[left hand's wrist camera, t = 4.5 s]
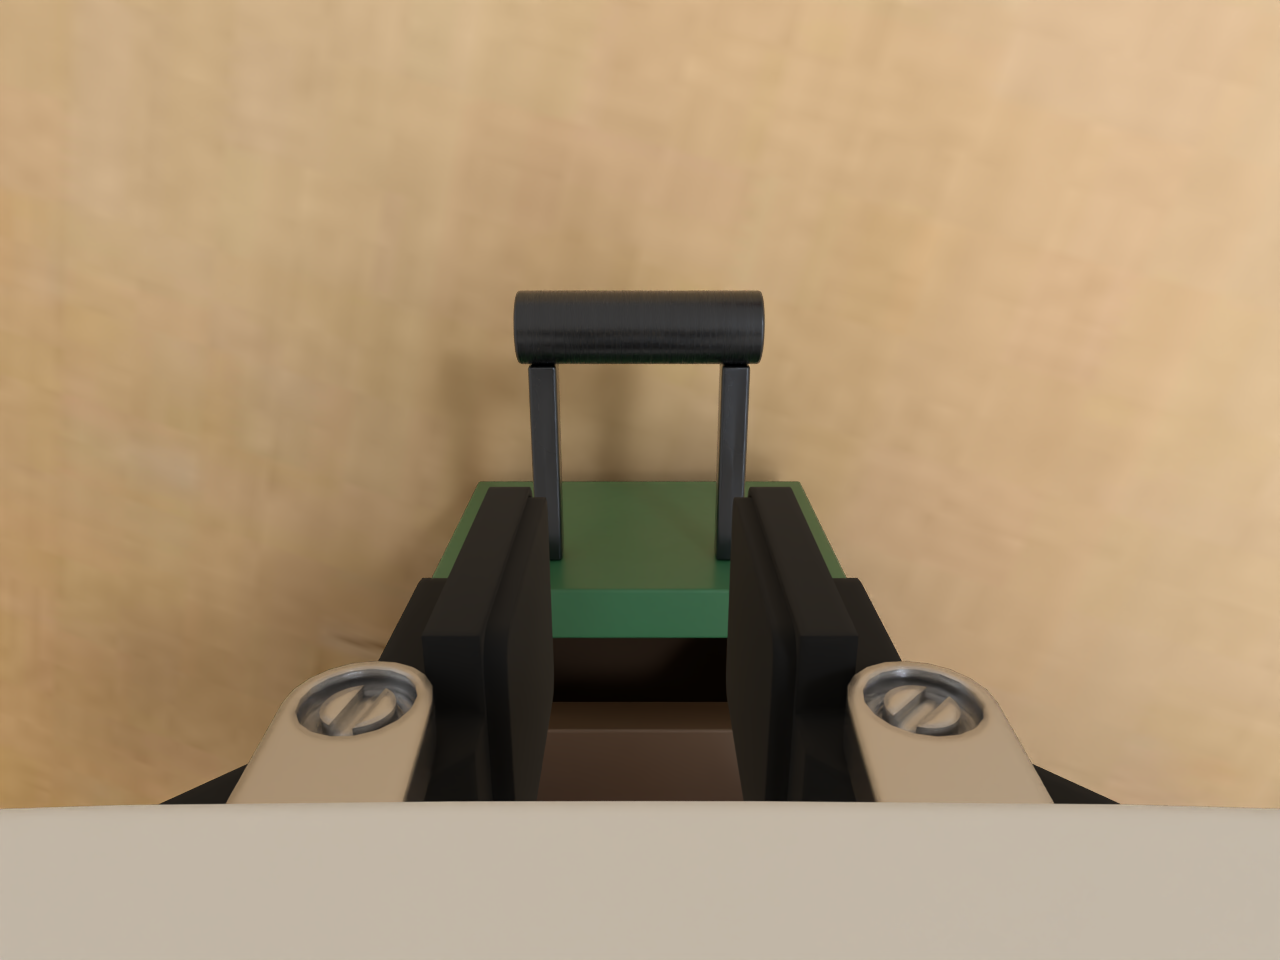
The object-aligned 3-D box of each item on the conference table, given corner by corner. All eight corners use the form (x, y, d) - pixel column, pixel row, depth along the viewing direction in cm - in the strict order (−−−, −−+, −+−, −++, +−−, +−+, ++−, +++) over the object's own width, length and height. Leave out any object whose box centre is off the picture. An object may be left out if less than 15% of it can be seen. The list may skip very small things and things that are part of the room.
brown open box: (470, 554, 27) (395, 729, 19) (808, 554, 27) (883, 730, 19) (499, 955, 33) (451, 1227, 25) (779, 955, 33) (827, 1227, 25)
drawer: (463, 263, 23) (397, 304, 17) (814, 263, 23) (880, 303, 17) (505, 888, 30) (469, 1082, 24) (773, 888, 30) (808, 1082, 24)
